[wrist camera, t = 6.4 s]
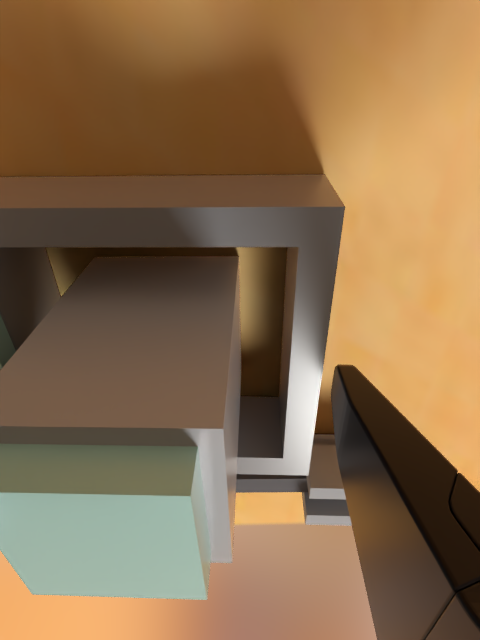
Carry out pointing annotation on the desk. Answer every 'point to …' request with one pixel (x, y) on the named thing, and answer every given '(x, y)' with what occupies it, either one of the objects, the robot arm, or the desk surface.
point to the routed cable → (309, 485)
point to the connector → (125, 431)
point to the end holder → (190, 231)
